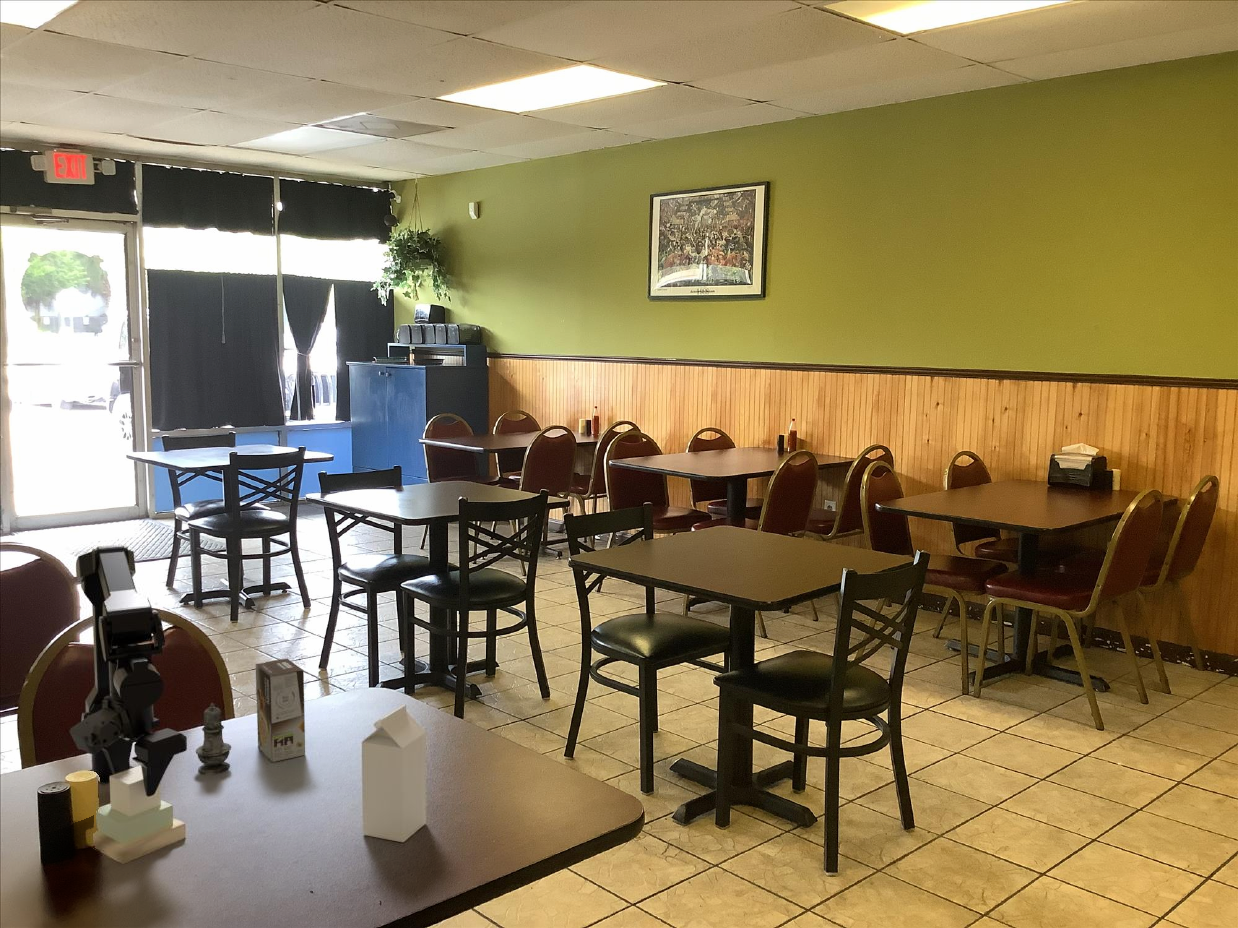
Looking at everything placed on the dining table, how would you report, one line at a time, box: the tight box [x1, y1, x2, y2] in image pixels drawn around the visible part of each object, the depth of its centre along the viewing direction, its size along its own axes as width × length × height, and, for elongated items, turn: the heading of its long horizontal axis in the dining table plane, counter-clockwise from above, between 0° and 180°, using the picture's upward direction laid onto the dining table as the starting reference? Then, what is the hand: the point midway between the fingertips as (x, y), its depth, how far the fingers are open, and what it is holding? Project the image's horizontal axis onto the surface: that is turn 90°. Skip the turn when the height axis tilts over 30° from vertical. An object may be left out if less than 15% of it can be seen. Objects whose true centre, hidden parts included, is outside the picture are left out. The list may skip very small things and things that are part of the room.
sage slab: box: [96, 799, 174, 844], centre depth 157 cm, size 8×8×3 cm
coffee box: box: [254, 658, 306, 763], centre depth 192 cm, size 9×6×16 cm
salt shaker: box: [195, 702, 232, 775], centre depth 184 cm, size 6×6×12 cm
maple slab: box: [93, 817, 187, 865], centre depth 157 cm, size 10×10×3 cm
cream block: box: [109, 764, 162, 817], centre depth 157 cm, size 5×5×5 cm
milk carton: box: [361, 704, 427, 843], centre depth 161 cm, size 7×7×19 cm
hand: (135, 788), depth 157 cm, fingers open, 8 cm apart
